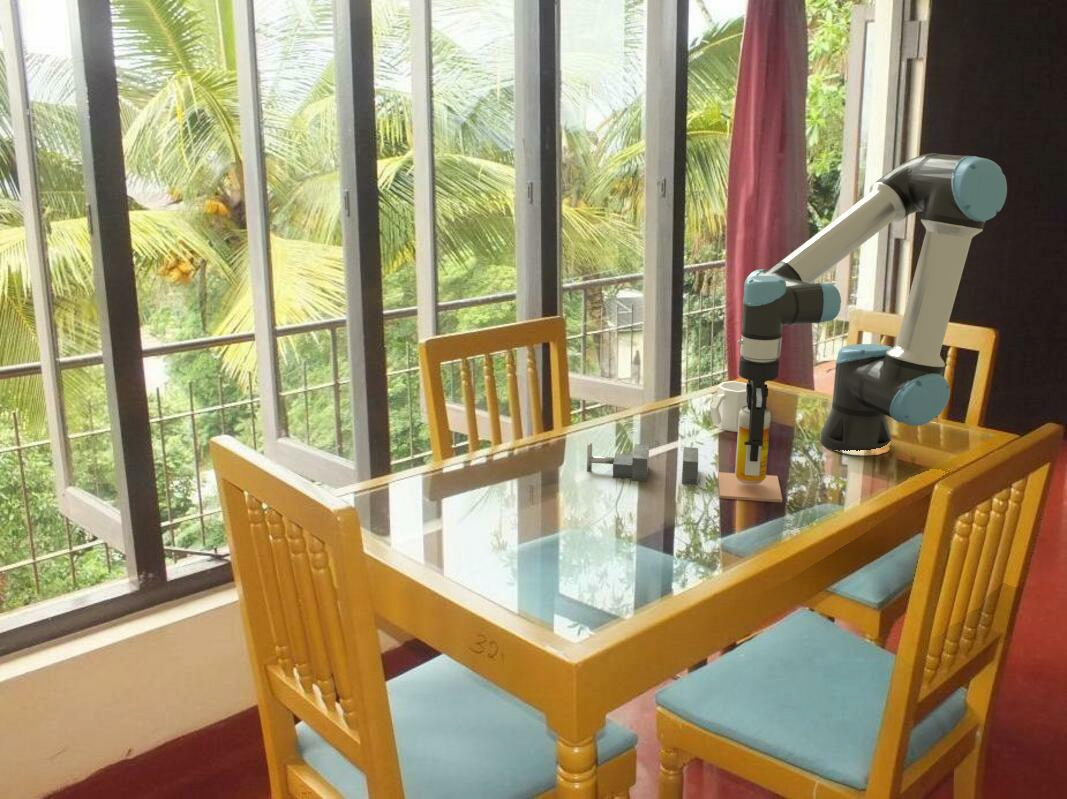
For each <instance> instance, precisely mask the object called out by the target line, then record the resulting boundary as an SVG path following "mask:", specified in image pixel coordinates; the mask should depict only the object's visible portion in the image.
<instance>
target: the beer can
mask: <svg viewBox="0 0 1067 799" xmlns="http://www.w3.org/2000/svg"><path fill="white" fill-rule="evenodd" d="M771 414H772V413H771V412H770V409H769V407H767V406H766V409H765V416H764V430H763V445H762V446H761V458H760V471H759V476H751V475H745V465H746V452H747V445H744V442H748V439H749V422H750V410H749V409H748V405H745V406H743V407H742V409H741V411H740V412H739V423H738V432H737V438H736V439H737V441H736V452H735V453H736V454H735V465H734V467H735V468H734V473H735V476H736V477H737V479H738V480H739V481H740V482H742V483H746V484H759V483H761V482H762V481H763V480H764V479H765V478H766V475H767V469H768V468H767V467H768V466H767V465H768V456H769V455H768V454H769V453H768V452H769V444H770V442H769V441H770V431H771V430H770V429H771V420H772V418H771V417H772V415H771Z"/></svg>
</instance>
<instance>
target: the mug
mask: <svg viewBox="0 0 1067 799" xmlns="http://www.w3.org/2000/svg"><path fill="white" fill-rule="evenodd" d="M747 384H748V383H747V382H740V381H735V380H734V381H733V380H731V381H722V382H720V383H719V384H718V385H717V387H716V396H715V398H714V399H713V401H712V403H711V404H710V405H709V408H710V416H711V422H712V423H713V424H714V426H716V427H717V428H718V429H720V430H721V431H728V432H733V433H738V423H739V412H740V411H741V409H742V407H743V406H745V405H747V400H746V397H747V392H746V385H747Z"/></svg>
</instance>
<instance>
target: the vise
mask: <svg viewBox="0 0 1067 799" xmlns="http://www.w3.org/2000/svg"><path fill="white" fill-rule="evenodd" d="M586 450H587V451H586V472H592V468H593V467H592V466H593V464H604V465H612V478H616V479H617V478H618V479H631V481H632V482H633V481H634V482H647V481H648V472H649V470H648V469H649V458H650V444H637V443H635V444H634V448H633V453H631V454H630V453H629V454H628V453H627V454H626V453H615V454H614V457H613V456H612V457H610V456H597V455H596V456H594V455H593V443H592V442H588V443H587V448H586ZM682 453H683V454H682V467H681V468H682V472H681V475H682V476H681V484H682V485H693V486H694V485H696V486H697V485H698V471H699V447H689V446H688V447H687V446H683V452H682Z"/></svg>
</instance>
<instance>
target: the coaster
mask: <svg viewBox="0 0 1067 799" xmlns="http://www.w3.org/2000/svg"><path fill="white" fill-rule="evenodd" d="M717 474H718V475H717V478H718V491H719V492H718V493H719V499H727V500H739V501H740V500H743V501H756V502H769V503H783V495H782V490H781V486H780V481H779V477H778V475H772V474H771V475H768V474H766V478H765V479H764V480H763V481H762V482H761V483H759V484H746V483H742V482H740V481H739V480H738V479H737V477H736V476H735V472H720V471H719V472H718V473H717Z"/></svg>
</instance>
